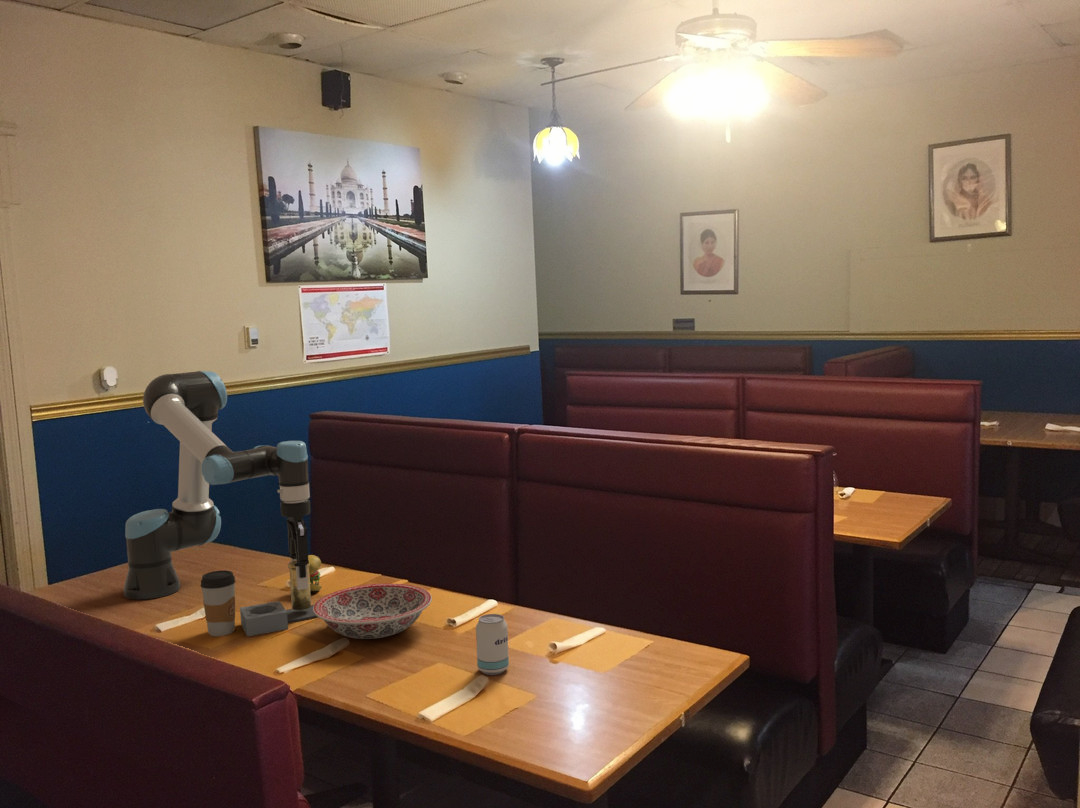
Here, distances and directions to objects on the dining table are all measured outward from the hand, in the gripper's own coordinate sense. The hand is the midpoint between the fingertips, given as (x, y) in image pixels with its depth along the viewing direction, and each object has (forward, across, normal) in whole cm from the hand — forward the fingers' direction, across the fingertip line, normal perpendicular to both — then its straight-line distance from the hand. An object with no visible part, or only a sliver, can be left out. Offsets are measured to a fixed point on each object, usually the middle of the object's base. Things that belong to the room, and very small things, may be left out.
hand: (300, 585), depth 236 cm
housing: (+8, +4, -10) cm, 14 cm away
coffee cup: (+8, +2, -21) cm, 22 cm away
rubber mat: (+8, 0, 0) cm, 8 cm away
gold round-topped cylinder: (+6, 0, 0) cm, 6 cm away
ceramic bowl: (+8, +23, +13) cm, 28 cm away
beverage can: (+8, +60, +29) cm, 67 cm away
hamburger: (+8, -18, +6) cm, 21 cm away
